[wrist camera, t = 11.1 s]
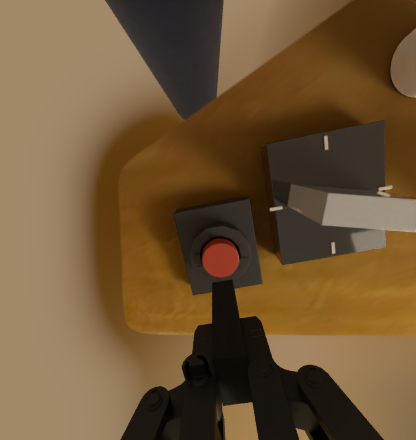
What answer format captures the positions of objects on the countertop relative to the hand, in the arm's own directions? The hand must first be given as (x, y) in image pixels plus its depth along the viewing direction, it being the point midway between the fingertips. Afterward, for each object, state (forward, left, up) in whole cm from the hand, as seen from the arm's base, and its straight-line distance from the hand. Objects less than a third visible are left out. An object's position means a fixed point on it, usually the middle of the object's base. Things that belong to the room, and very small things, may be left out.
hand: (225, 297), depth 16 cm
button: (+1, 0, -9) cm, 9 cm away
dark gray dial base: (-3, +13, -13) cm, 19 cm away
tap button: (+1, 0, -13) cm, 13 cm away
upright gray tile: (-3, +13, -10) cm, 17 cm away
